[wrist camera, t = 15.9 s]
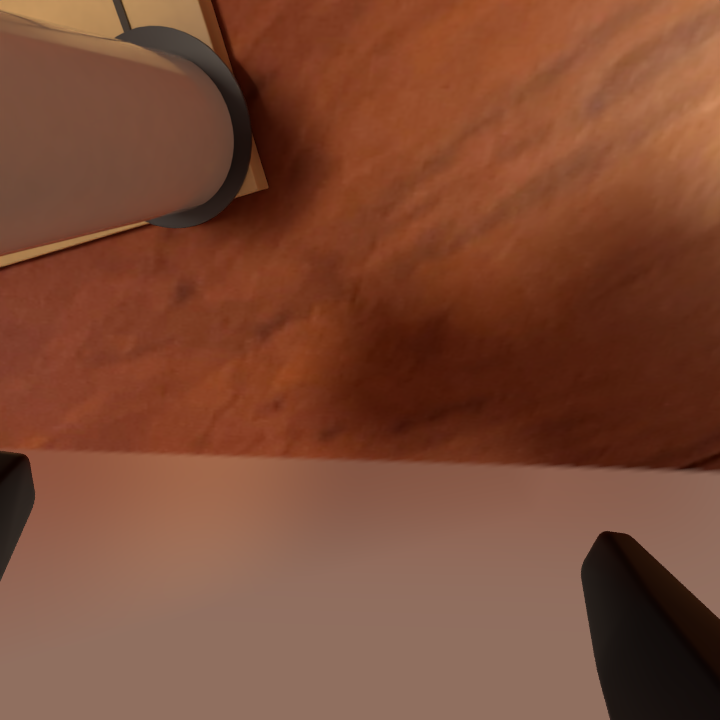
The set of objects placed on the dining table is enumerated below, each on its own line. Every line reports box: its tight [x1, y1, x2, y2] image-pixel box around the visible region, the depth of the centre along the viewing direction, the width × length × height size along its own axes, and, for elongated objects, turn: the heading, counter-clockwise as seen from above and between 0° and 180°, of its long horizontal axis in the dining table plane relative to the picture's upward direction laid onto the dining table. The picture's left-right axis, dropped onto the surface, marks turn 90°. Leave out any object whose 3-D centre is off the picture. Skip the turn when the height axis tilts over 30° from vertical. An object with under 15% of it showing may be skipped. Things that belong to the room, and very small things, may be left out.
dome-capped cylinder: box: [0, 10, 234, 256], centre depth 13 cm, size 5×5×13 cm
